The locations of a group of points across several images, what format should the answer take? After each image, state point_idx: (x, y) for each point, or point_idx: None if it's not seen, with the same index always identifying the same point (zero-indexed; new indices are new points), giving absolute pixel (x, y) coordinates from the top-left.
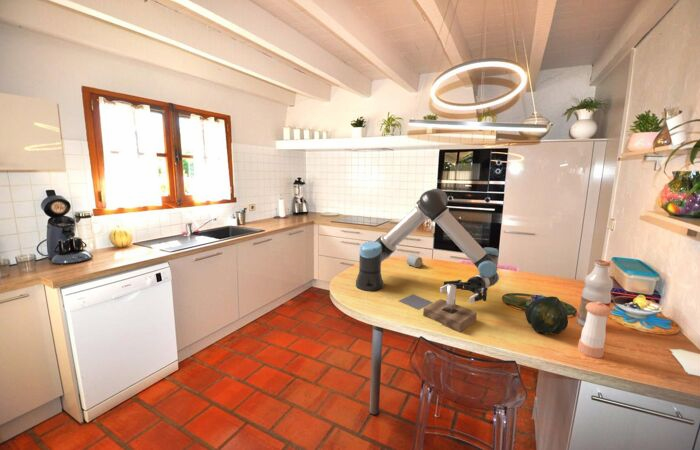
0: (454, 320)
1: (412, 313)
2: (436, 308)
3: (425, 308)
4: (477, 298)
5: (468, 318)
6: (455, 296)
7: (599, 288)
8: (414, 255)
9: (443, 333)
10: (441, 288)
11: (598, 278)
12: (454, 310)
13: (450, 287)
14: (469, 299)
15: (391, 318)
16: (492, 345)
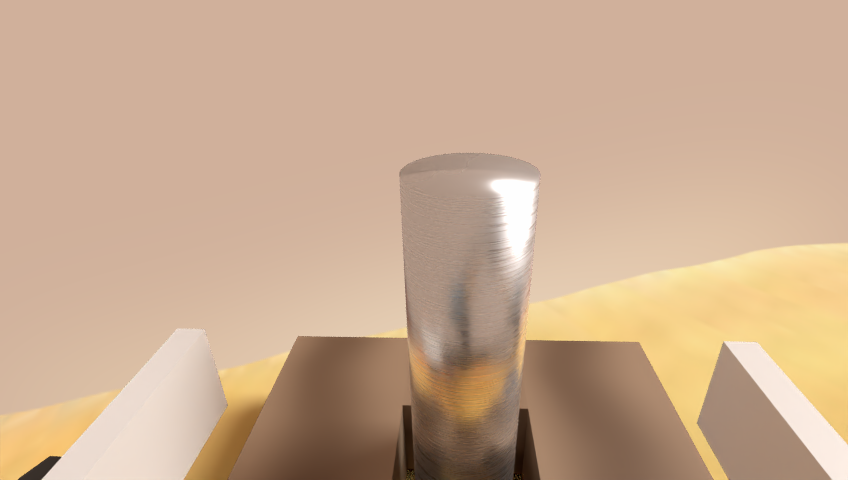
0: (345, 338)
1: (706, 387)
2: (573, 398)
3: (621, 343)
4: (37, 475)
5: (244, 456)
6: (407, 316)
7: None
8: None
9: (389, 332)
10: (724, 351)
11: None
12: (415, 470)
13: (455, 157)
14: (205, 355)
15: (680, 283)
16: (83, 401)
